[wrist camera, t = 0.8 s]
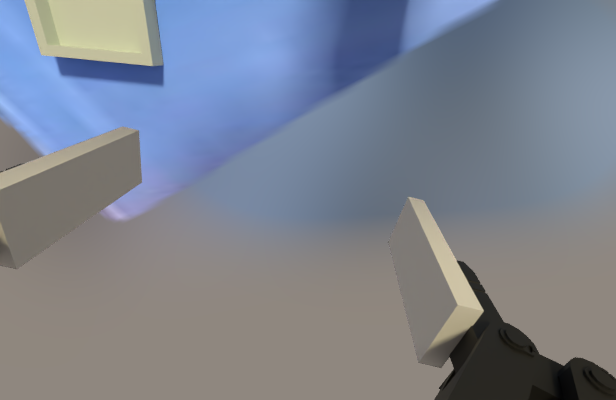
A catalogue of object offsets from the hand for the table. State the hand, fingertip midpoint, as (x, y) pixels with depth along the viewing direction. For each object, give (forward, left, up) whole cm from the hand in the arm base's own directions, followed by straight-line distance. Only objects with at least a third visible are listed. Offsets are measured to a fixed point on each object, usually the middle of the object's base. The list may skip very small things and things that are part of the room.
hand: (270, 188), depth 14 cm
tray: (-10, -26, -26) cm, 38 cm away
